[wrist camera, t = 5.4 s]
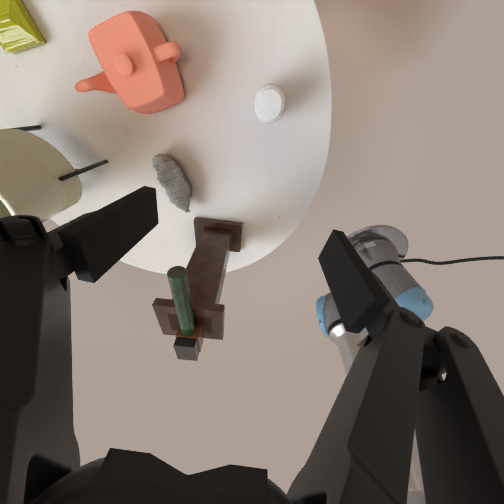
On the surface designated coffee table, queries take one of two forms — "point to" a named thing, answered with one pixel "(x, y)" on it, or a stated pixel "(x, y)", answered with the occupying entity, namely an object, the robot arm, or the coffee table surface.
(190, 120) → the coffee table surface
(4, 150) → the planter
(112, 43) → the teapot
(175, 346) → the brush
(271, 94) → the pill bottle
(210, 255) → the stand
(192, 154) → the coffee table surface
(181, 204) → the seashell
